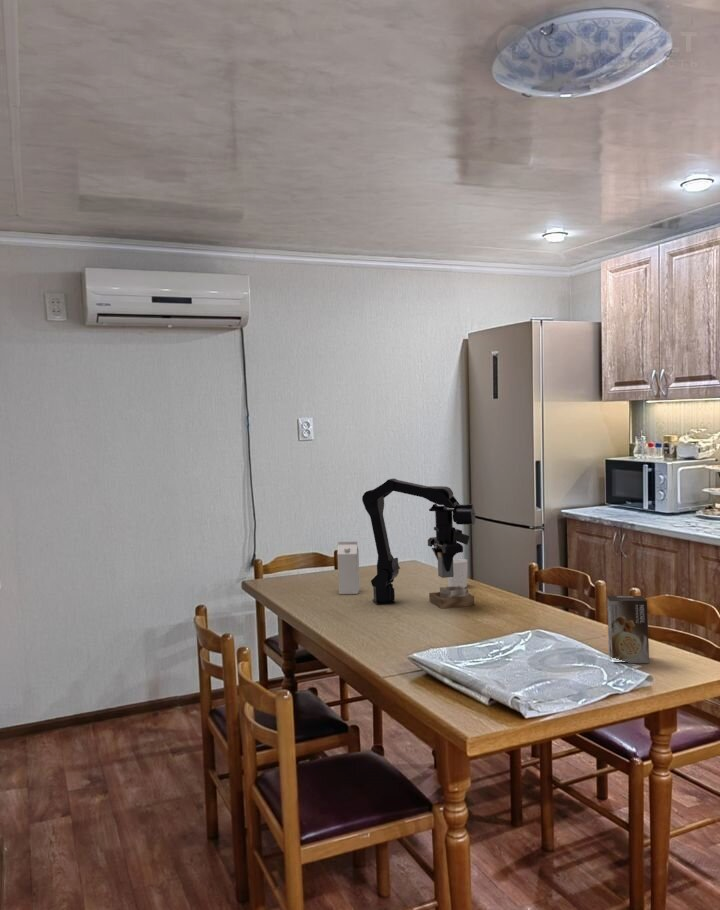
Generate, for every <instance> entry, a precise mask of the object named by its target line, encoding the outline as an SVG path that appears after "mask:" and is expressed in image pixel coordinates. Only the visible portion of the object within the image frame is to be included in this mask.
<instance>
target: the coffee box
mask: <svg viewBox="0 0 720 910" xmlns="http://www.w3.org/2000/svg"><path fill="white" fill-rule="evenodd" d="M606 601H607V602H606V603H607V607H606V608H607V631H608V632H607V635H608V636H607V637H608V638H607V639H608V656H609V657H610V656H611V657H612V658H616V659H619V660H622V661H625V662H628V663H627V664H650V646H649V645H650V644H649V622H648V621H649V618H648V617H649V616H648V600H647V599H646V597H644V596H643V595H624V594H623V595H622V594H618V595H616V594H615V595H610V594H609V595H606Z"/></svg>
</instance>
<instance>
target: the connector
mask: <svg viewBox="0 0 720 910" xmlns="http://www.w3.org/2000/svg"><path fill="white" fill-rule="evenodd" d="M437 572H438V577H440V578H442V579H445V578H447V579H448V577H454V572H453V560H452V564H451V568H450V571H448V572H447V571H446V569H445V567H444V564H443V561H442V558H441V555H440V552H438V560H437Z"/></svg>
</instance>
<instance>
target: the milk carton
mask: <svg viewBox="0 0 720 910" xmlns="http://www.w3.org/2000/svg"><path fill="white" fill-rule="evenodd" d="M337 544H338V545H337V578H338V579H337V580H338V595H358V594H359V593H360V589H361V583H360V582H361V581H360V556H359V552H360V551H359V546H358V541H355V540H354V541H338V542H337Z"/></svg>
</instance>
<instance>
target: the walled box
mask: <svg viewBox="0 0 720 910" xmlns="http://www.w3.org/2000/svg"><path fill="white" fill-rule="evenodd" d="M428 594H429V597H428V598H429V599H428V600H429V603H431V604H433V605H435V606H437V608H439V609H449V608H458V607H460V608H461V607H469V606H475V596H474V595H473V594H471V593H470V592H469V589H468V588H467V587H466V588H464V587H462V586H460V585H459V586H449V585H447V586H440V587H439V591H435V592H429V593H428Z"/></svg>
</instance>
